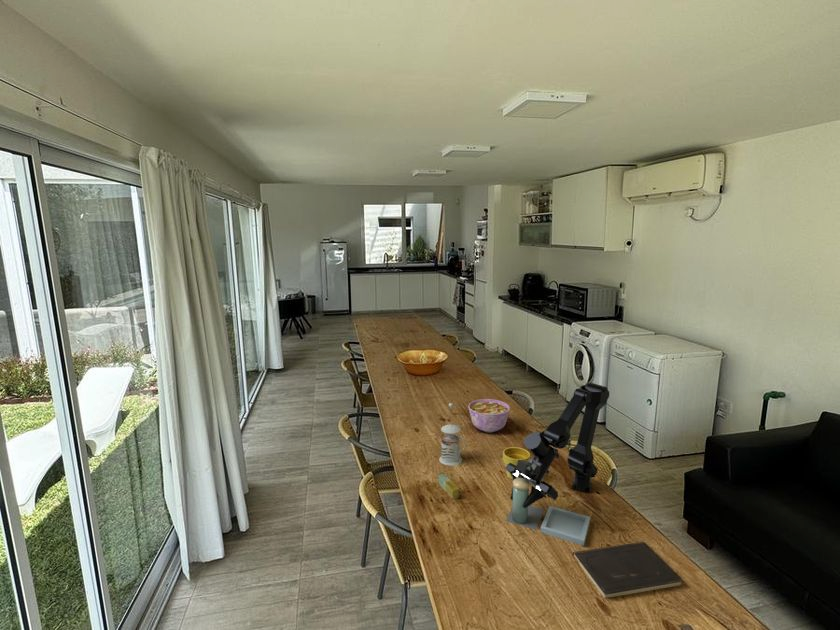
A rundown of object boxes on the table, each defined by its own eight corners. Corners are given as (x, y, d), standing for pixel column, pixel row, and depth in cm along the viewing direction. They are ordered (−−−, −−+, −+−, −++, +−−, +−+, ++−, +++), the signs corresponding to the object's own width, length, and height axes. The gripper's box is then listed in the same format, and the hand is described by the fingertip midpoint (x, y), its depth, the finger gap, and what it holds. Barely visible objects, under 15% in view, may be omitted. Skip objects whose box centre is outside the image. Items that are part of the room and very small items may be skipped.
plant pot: (529, 471, 175) (530, 448, 173) (528, 485, 165) (529, 461, 163) (503, 467, 178) (504, 445, 176) (501, 481, 168) (501, 457, 166)
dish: (549, 511, 149) (549, 505, 149) (589, 522, 143) (590, 516, 143) (540, 533, 138) (540, 527, 138) (583, 546, 132) (584, 540, 132)
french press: (445, 452, 191) (445, 397, 187) (470, 458, 185) (470, 402, 181) (434, 461, 183) (434, 405, 179) (459, 469, 177) (460, 410, 173)
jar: (514, 512, 148) (515, 476, 146) (529, 517, 146) (531, 480, 143) (509, 521, 144) (510, 484, 141) (525, 526, 141) (527, 488, 139)
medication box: (437, 483, 167) (437, 473, 166) (443, 481, 168) (443, 472, 168) (453, 500, 157) (453, 490, 156) (459, 498, 158) (459, 488, 157)
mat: (515, 502, 154) (515, 501, 154) (544, 510, 150) (544, 509, 150) (505, 521, 144) (505, 520, 144) (535, 531, 139) (535, 529, 139)
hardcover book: (682, 588, 117) (683, 580, 117) (604, 601, 113) (604, 593, 113) (642, 547, 133) (642, 540, 132) (572, 557, 128) (572, 550, 128)
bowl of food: (465, 435, 207) (465, 412, 205) (470, 418, 226) (470, 397, 224) (508, 440, 202) (509, 416, 200) (510, 422, 221) (510, 400, 219)
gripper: (509, 440, 150) (485, 480, 146) (553, 463, 135) (528, 508, 131) (524, 455, 156) (501, 494, 152) (568, 478, 141) (544, 522, 137)
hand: (517, 503), depth 143 cm, fingers closed on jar, 5 cm apart
